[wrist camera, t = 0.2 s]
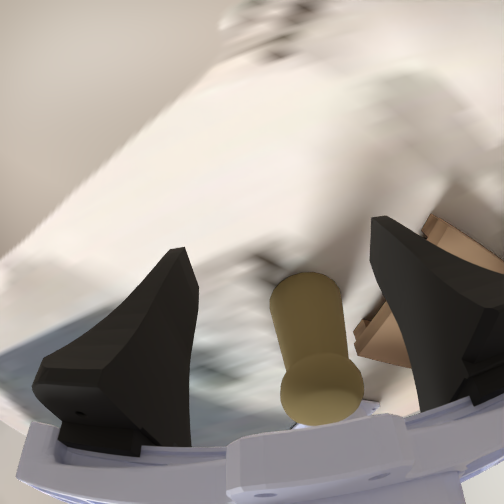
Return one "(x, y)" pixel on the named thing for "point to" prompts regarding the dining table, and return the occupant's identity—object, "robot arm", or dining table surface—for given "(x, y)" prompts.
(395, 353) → the tan square board
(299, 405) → the olive bulb-shaped piece
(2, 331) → the dining table surface
